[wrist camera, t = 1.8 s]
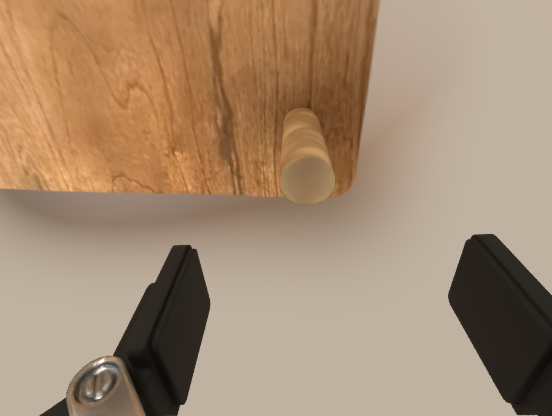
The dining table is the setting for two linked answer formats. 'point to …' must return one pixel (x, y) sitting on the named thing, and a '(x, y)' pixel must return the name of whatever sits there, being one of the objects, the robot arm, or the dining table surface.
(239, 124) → the dining table surface
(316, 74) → the dining table surface
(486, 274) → the robot arm
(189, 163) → the dining table surface
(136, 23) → the dining table surface
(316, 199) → the beige marbled cylinder
